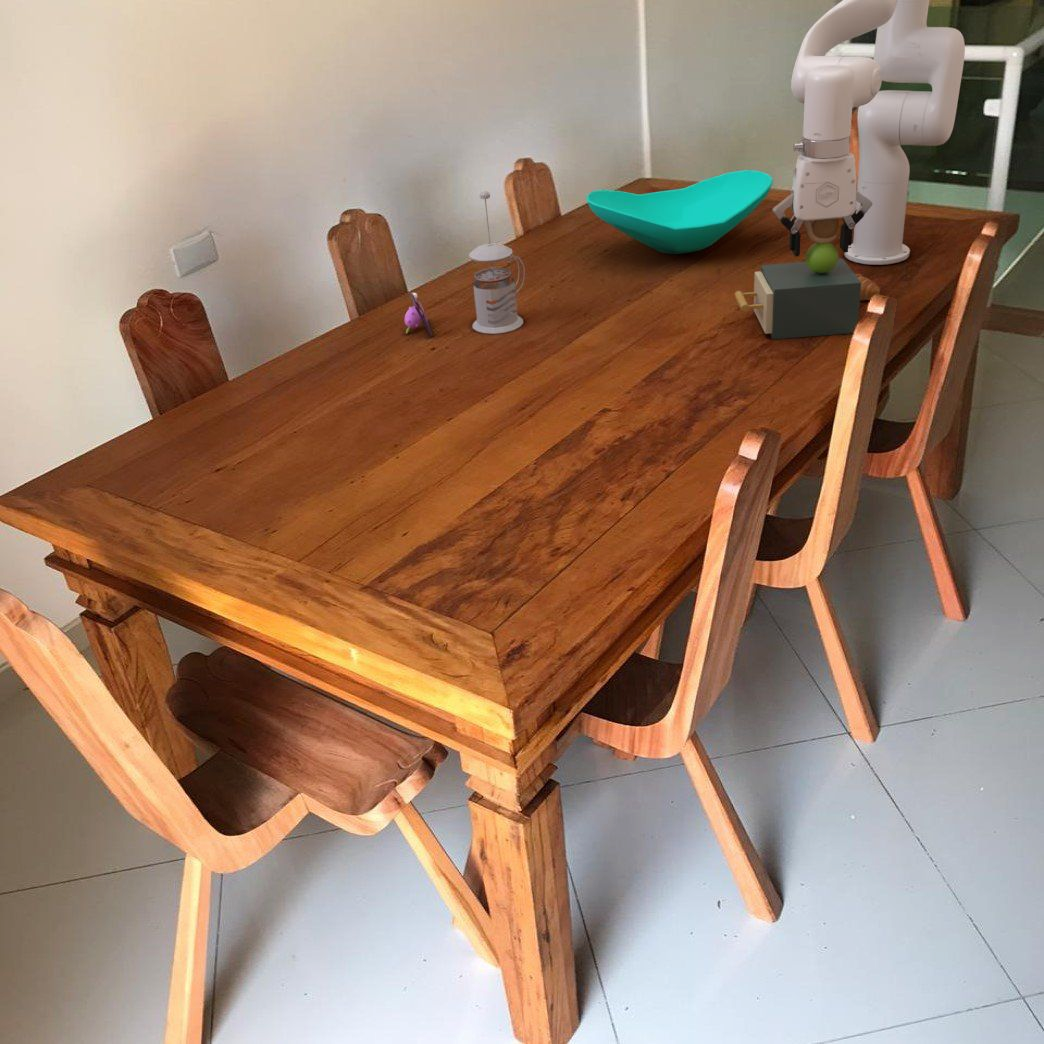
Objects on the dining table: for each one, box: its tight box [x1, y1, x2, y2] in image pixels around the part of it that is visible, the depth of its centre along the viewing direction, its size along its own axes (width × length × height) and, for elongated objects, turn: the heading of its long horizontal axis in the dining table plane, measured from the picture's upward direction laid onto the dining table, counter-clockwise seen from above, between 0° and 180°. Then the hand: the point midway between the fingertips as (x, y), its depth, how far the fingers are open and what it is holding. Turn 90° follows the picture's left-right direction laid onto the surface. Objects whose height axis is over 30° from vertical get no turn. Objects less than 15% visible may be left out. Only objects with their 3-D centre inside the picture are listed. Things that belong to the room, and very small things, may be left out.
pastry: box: [853, 272, 881, 302], centre depth 205 cm, size 9×7×4 cm
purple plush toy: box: [404, 290, 434, 338], centre depth 208 cm, size 7×5×9 cm
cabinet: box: [760, 258, 861, 340], centre depth 194 cm, size 15×13×9 cm
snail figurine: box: [803, 218, 840, 273], centre depth 189 cm, size 5×6×12 cm
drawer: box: [734, 270, 774, 335], centre depth 194 cm, size 17×11×7 cm, turn 90°
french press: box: [468, 190, 526, 335], centre depth 203 cm, size 10×12×25 cm
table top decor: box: [585, 169, 774, 255], centre depth 233 cm, size 40×28×13 cm
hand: (819, 251), depth 190 cm, fingers open, 7 cm apart
